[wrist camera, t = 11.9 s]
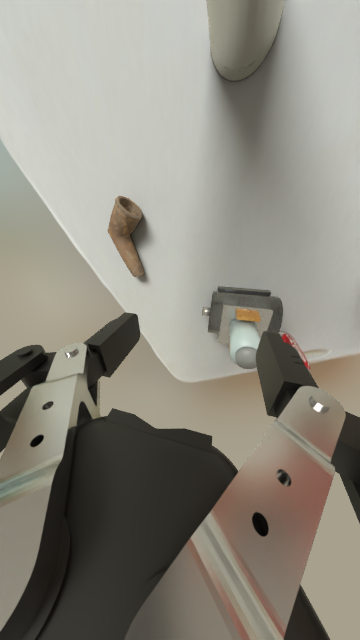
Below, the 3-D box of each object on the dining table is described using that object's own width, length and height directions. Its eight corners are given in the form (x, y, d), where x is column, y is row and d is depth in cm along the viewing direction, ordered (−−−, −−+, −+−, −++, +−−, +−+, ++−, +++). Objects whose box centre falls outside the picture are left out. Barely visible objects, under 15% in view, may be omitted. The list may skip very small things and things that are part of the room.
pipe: (125, 283, 42) (155, 272, 36) (88, 213, 35) (116, 187, 30) (140, 275, 46) (167, 265, 41) (109, 212, 40) (137, 191, 35)
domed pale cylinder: (231, 316, 32) (233, 344, 24) (259, 319, 31) (270, 350, 23) (227, 337, 34) (228, 369, 27) (253, 341, 33) (261, 375, 26)
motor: (206, 285, 41) (198, 307, 30) (274, 290, 38) (294, 317, 26) (203, 318, 46) (196, 348, 35) (262, 326, 43) (275, 361, 31)
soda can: (265, 330, 43) (276, 361, 33) (295, 329, 41) (317, 362, 31) (263, 350, 46) (274, 384, 36) (292, 351, 44) (311, 387, 34)
